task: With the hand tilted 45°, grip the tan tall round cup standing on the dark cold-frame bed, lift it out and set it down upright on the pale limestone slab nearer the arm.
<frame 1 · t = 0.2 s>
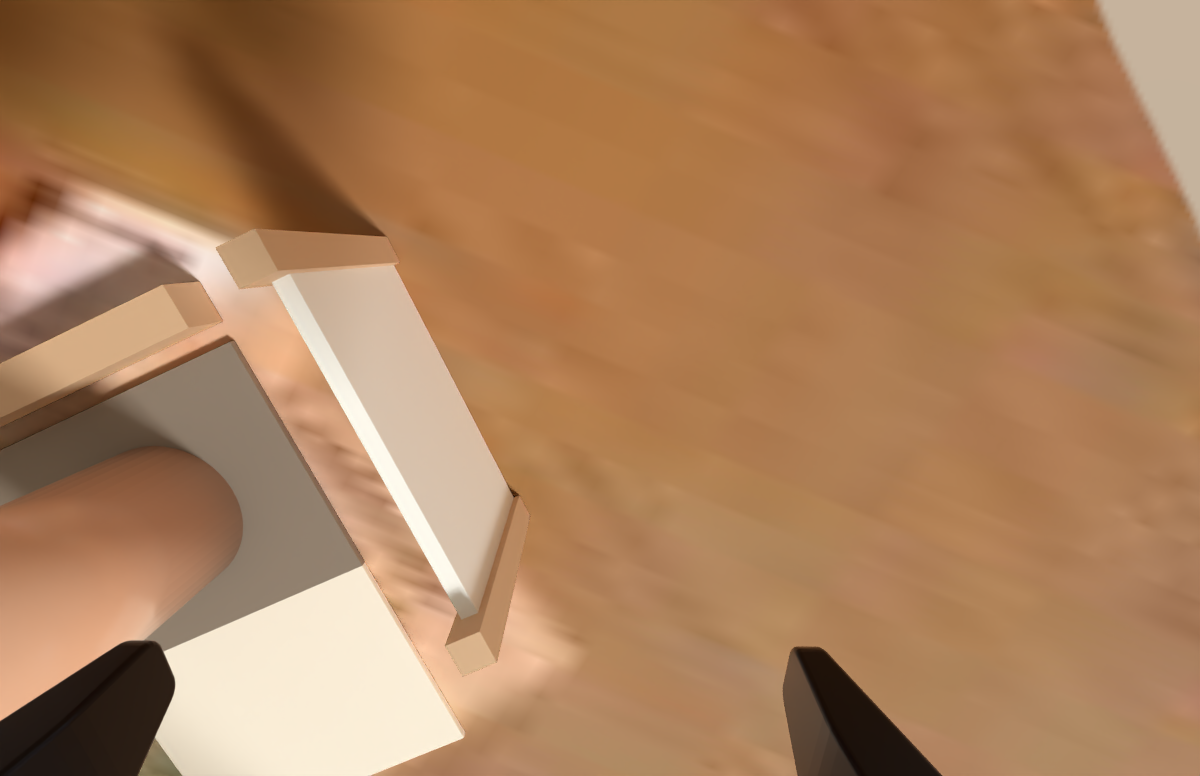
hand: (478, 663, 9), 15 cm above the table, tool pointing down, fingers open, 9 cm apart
coldframe board: (170, 515, 25), on the table
tan tall round cup: (165, 518, 24), resting on coldframe board
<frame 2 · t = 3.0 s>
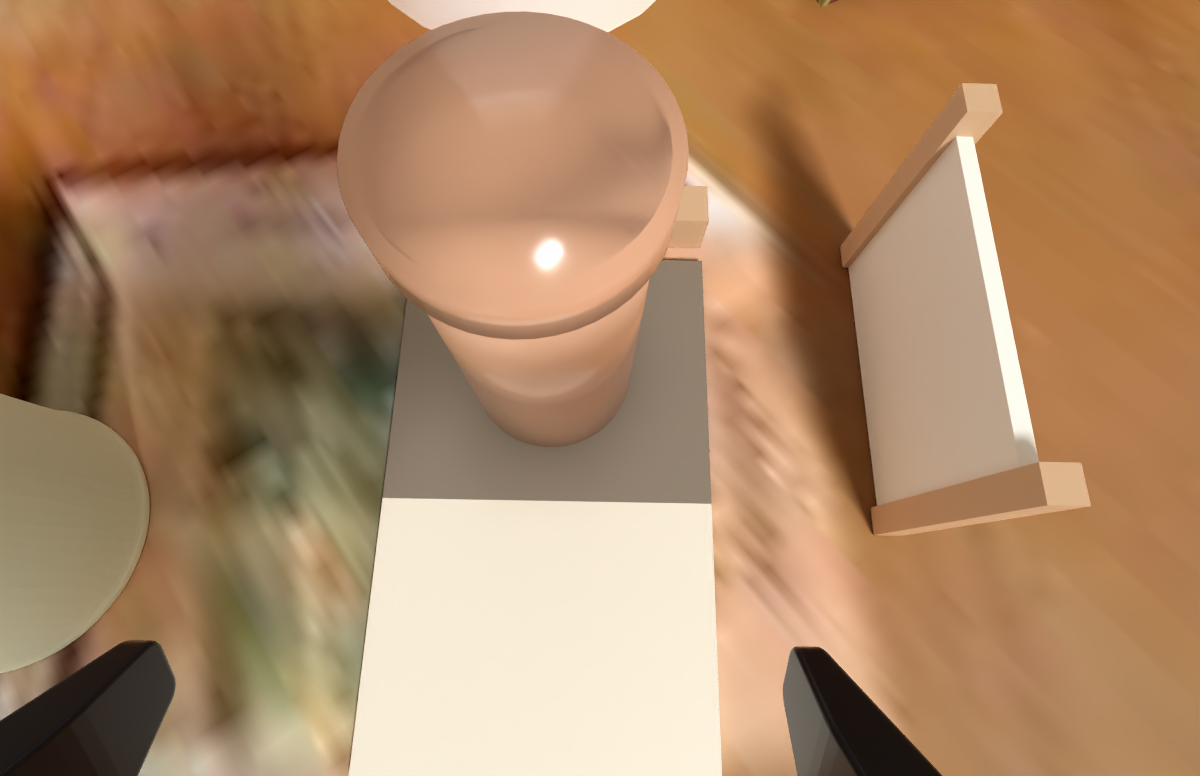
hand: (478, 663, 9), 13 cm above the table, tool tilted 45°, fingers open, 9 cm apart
coldframe board: (553, 374, 24), on the table
can: (24, 535, 22), on the table
tan tall round cup: (552, 371, 24), resting on coldframe board
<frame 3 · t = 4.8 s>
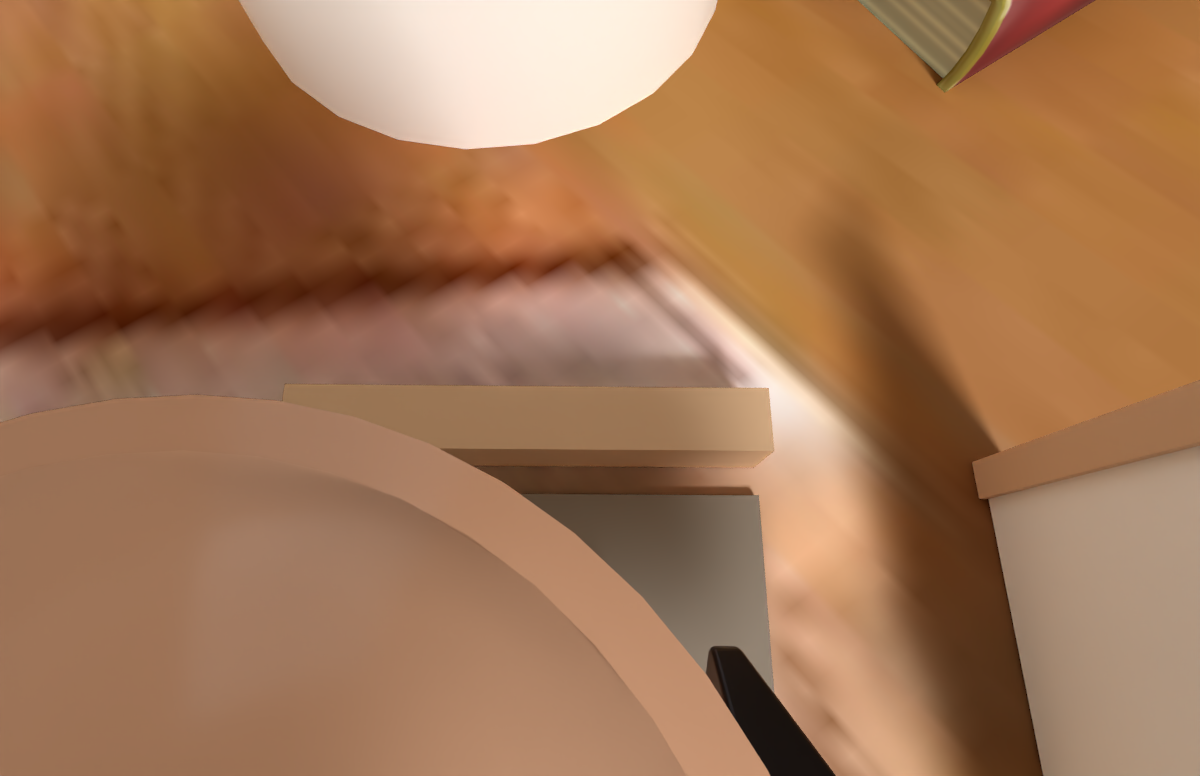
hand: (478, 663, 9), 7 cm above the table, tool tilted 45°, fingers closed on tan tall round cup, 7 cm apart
coldframe board: (522, 704, 15), on the table
tan tall round cup: (520, 707, 14), resting on coldframe board, touching gripper
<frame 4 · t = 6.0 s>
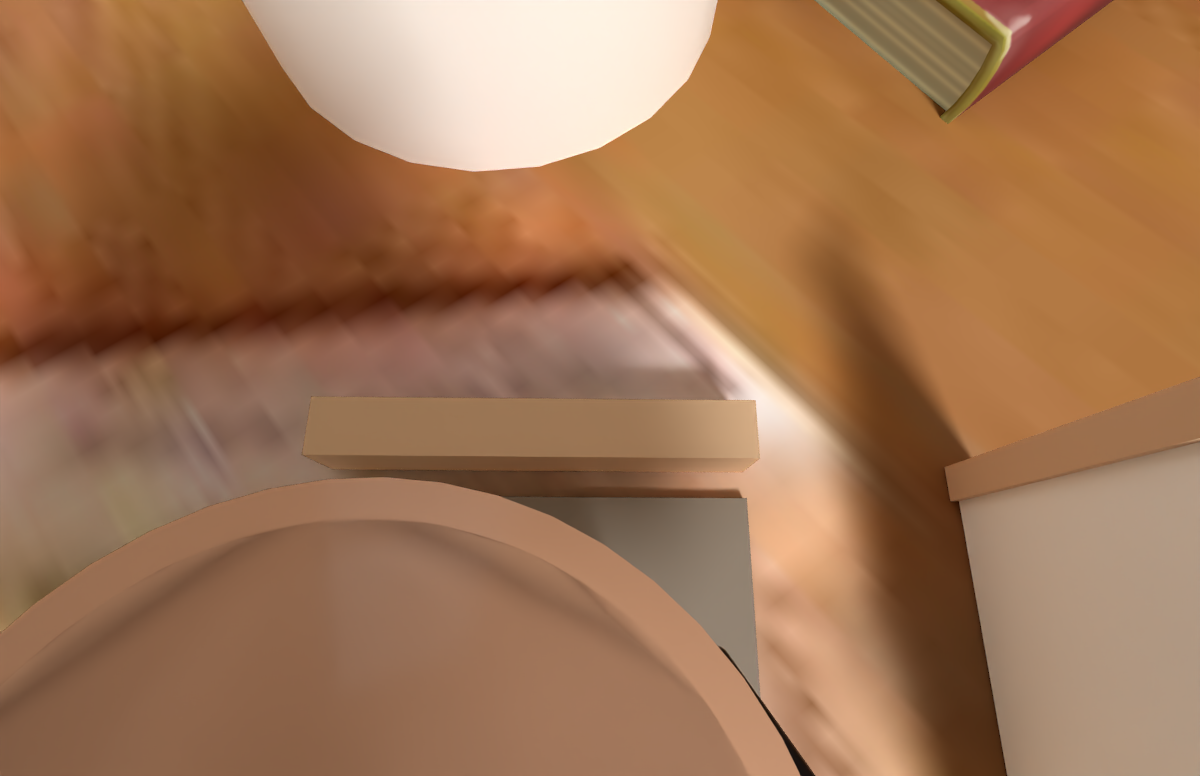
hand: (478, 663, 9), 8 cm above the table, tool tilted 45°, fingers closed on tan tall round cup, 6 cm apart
coldframe board: (529, 689, 16), on the table
tan tall round cup: (532, 694, 16), resting on coldframe board, touching gripper
when the fingers open (9 cm above the table, at t = 8.6 s): tan tall round cup stays where it is, resting on coldframe board.
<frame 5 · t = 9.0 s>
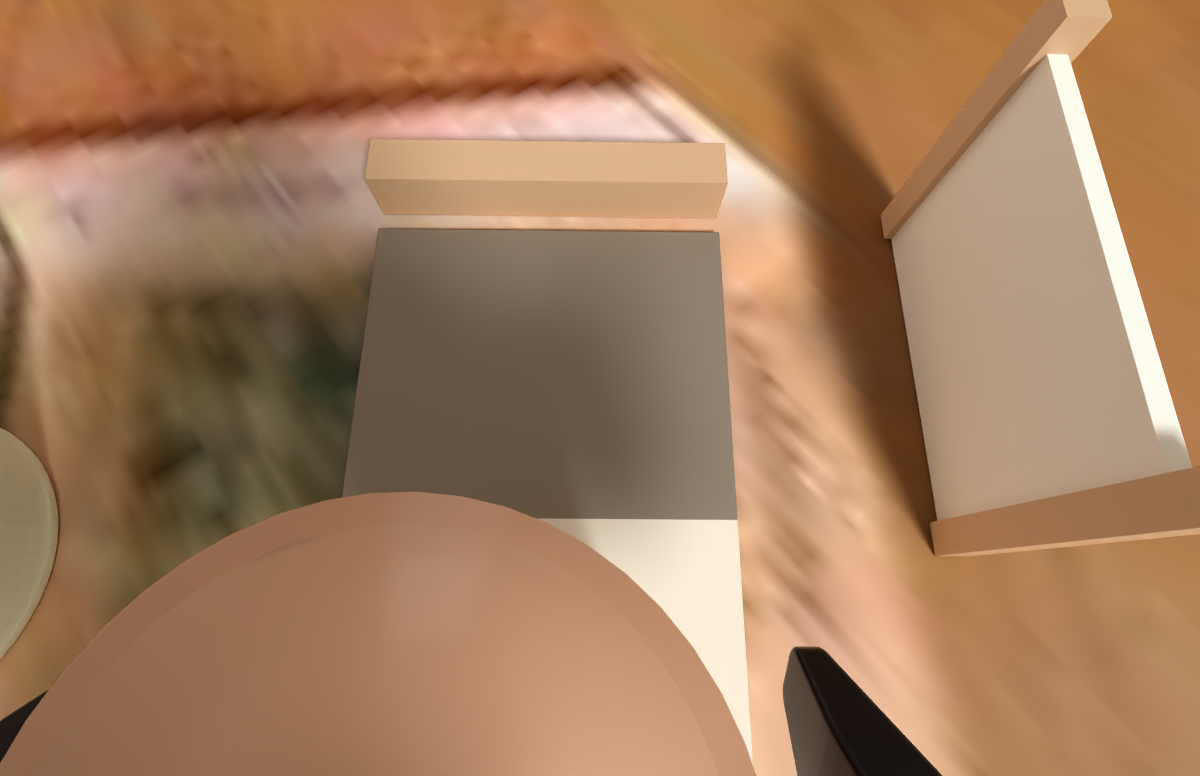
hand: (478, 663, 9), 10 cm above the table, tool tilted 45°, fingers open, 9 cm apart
coldframe board: (545, 366, 20), on the table
tan tall round cup: (528, 684, 17), resting on coldframe board
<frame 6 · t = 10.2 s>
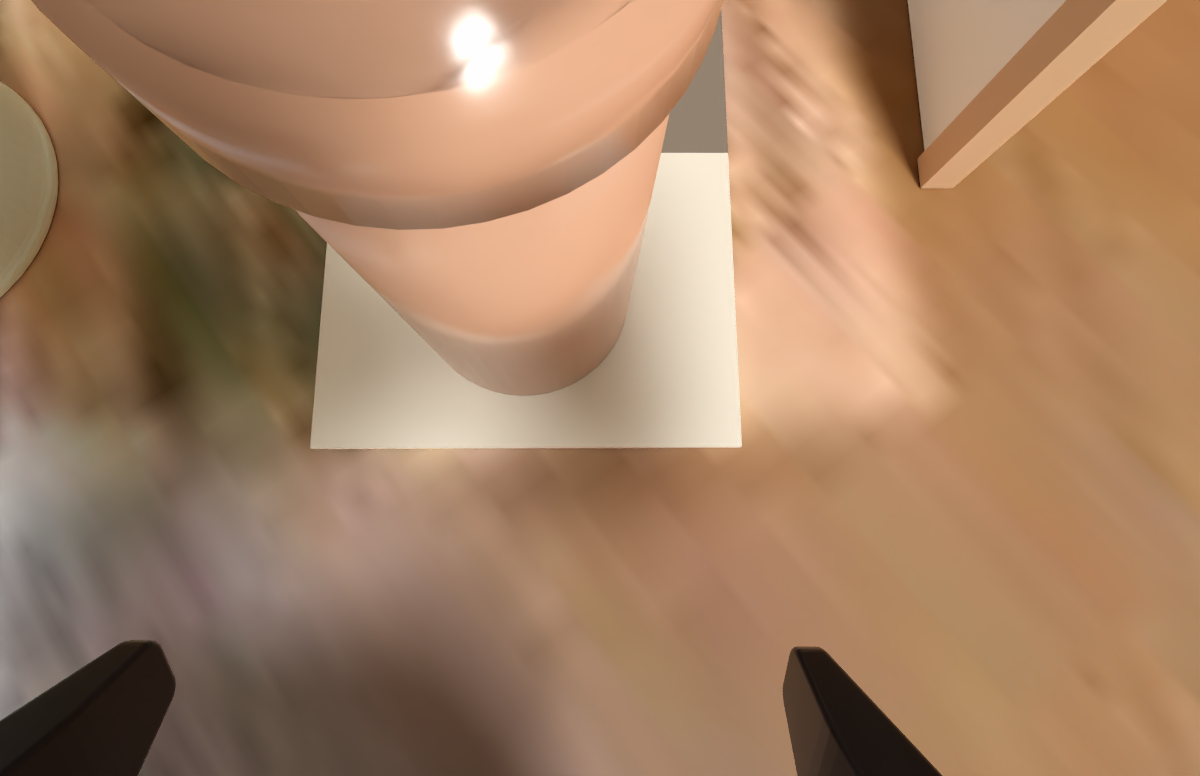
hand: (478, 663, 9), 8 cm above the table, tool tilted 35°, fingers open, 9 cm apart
coldframe board: (535, 17, 20), on the table
tan tall round cup: (525, 294, 18), resting on coldframe board
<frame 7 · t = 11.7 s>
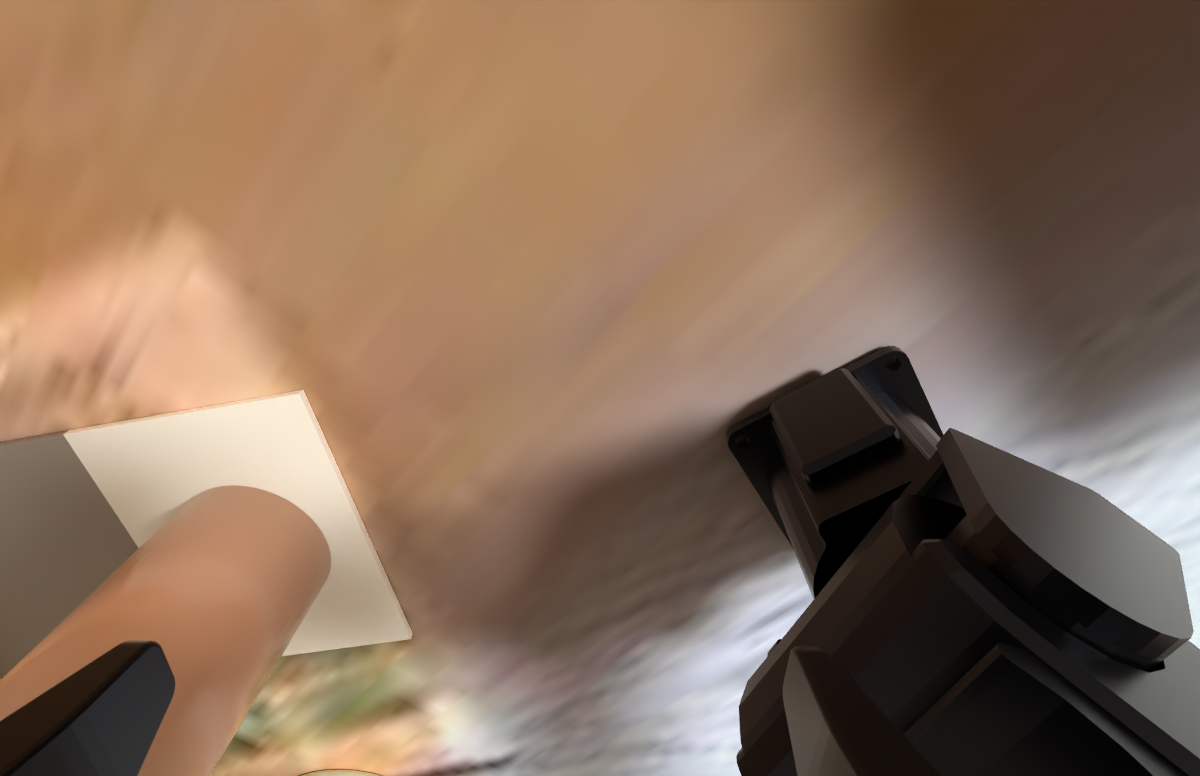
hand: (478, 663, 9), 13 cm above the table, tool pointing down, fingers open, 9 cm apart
coldframe board: (41, 573, 25), on the table
tan tall round cup: (254, 549, 24), resting on coldframe board
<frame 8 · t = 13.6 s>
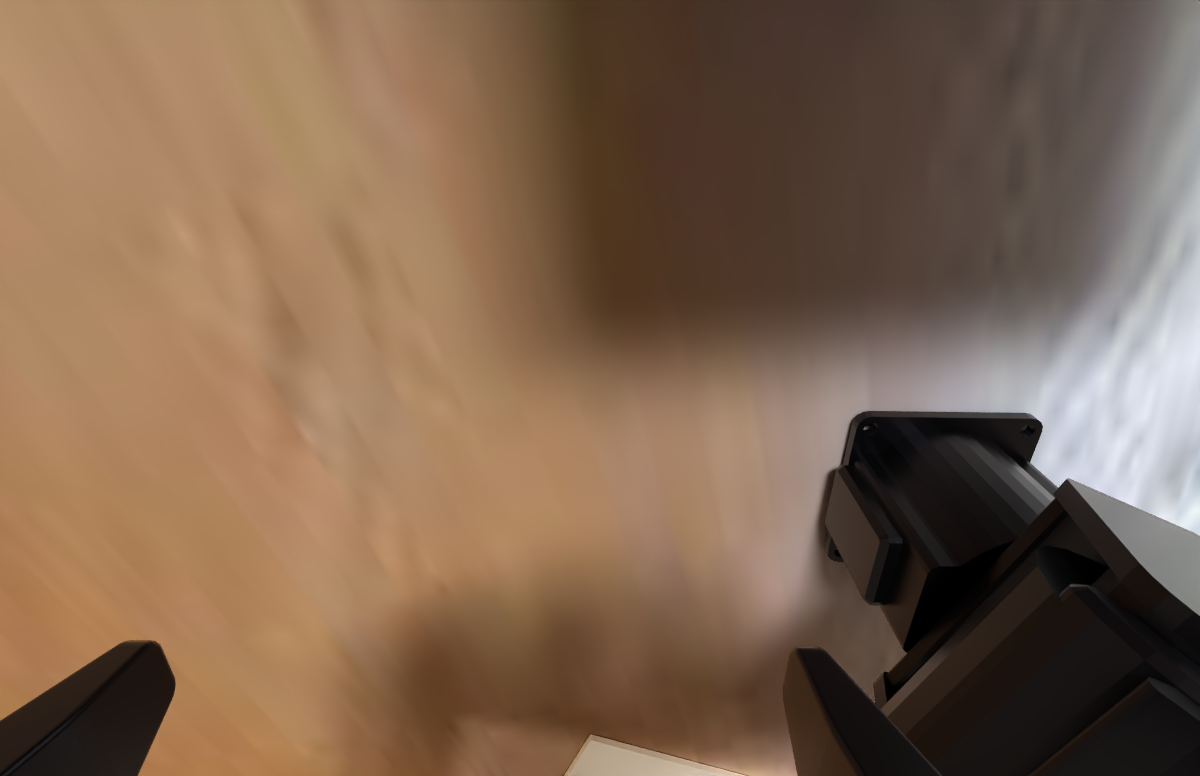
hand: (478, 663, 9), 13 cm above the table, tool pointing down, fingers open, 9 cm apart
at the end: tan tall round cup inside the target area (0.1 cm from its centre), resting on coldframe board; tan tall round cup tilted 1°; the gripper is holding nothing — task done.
